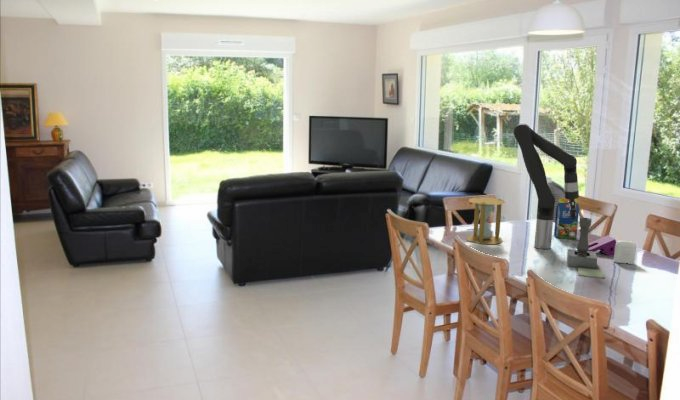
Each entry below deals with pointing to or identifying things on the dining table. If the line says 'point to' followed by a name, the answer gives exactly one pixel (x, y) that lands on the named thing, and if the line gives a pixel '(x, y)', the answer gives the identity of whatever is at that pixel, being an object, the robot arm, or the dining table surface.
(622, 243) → the photo printer
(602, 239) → the mounting bracket
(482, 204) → the hourglass
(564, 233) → the blue food package
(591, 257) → the socket block
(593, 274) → the mat
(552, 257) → the dining table surface
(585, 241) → the candle holder
